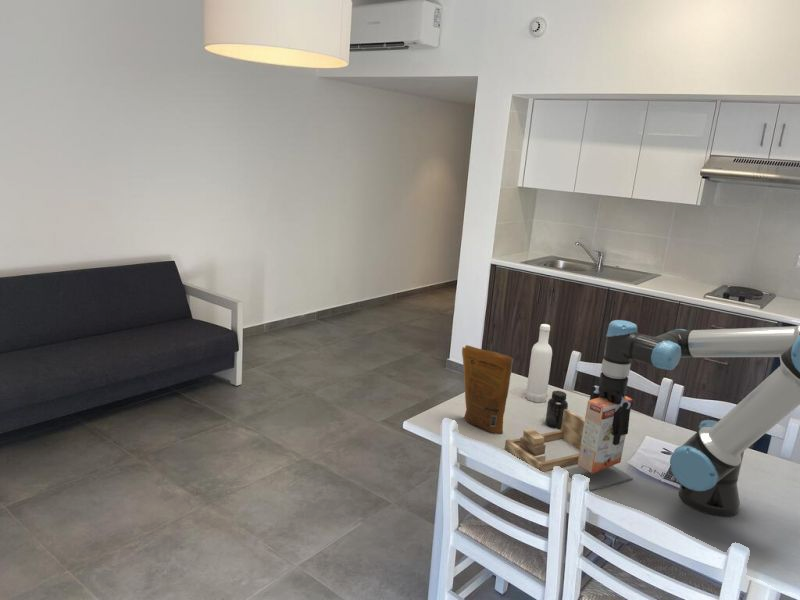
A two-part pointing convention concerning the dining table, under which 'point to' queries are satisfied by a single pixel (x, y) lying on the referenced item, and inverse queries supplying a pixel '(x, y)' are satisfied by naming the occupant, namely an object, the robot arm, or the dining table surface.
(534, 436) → the oak offcut
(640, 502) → the dining table surface
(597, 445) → the cracker box
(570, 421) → the oak rack
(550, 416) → the supplement bottle
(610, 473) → the felt mat
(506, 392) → the pancake mix bag
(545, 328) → the bottle
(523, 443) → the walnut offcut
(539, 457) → the birch offcut
